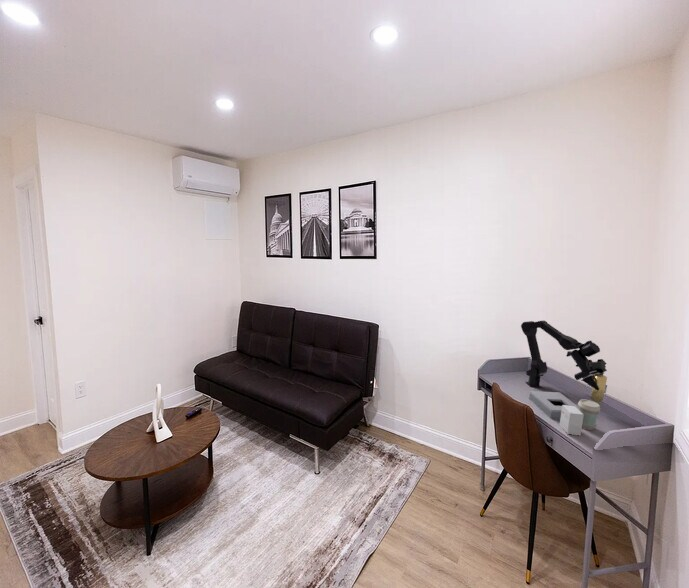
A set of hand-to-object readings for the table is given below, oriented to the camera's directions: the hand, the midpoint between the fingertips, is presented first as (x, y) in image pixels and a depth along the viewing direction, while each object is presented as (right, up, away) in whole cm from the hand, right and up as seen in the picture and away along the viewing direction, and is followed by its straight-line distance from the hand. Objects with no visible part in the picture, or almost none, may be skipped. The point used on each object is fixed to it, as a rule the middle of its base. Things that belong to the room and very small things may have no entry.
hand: (601, 389), depth 164 cm
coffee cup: (-15, -15, -10) cm, 24 cm away
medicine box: (+13, -11, +21) cm, 27 cm away
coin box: (-20, -12, +6) cm, 24 cm away
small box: (-26, -15, -13) cm, 33 cm away
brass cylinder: (-1, -6, +2) cm, 7 cm away
